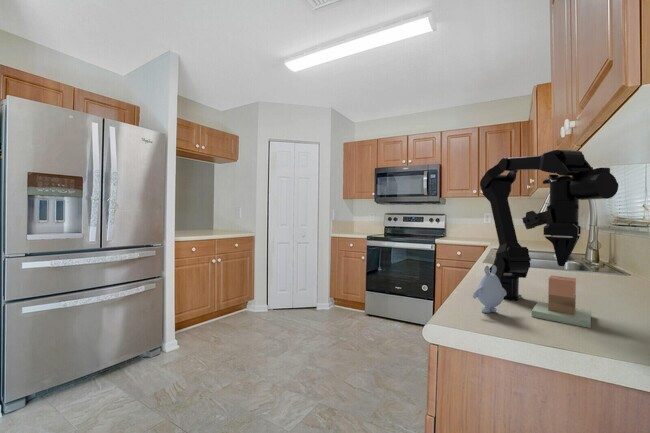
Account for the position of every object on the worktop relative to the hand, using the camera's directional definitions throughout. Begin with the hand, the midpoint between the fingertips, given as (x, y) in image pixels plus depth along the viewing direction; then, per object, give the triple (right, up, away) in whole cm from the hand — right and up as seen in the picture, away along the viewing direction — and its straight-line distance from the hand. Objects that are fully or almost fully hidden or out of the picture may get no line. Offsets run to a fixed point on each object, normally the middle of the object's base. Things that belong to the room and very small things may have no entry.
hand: (562, 264), depth 76 cm
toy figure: (-17, -13, +2) cm, 21 cm away
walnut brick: (0, -12, 0) cm, 12 cm away
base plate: (0, -13, 0) cm, 13 cm away
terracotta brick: (0, -8, 0) cm, 8 cm away
